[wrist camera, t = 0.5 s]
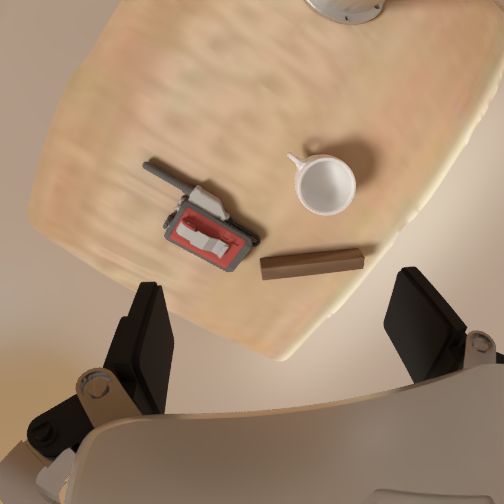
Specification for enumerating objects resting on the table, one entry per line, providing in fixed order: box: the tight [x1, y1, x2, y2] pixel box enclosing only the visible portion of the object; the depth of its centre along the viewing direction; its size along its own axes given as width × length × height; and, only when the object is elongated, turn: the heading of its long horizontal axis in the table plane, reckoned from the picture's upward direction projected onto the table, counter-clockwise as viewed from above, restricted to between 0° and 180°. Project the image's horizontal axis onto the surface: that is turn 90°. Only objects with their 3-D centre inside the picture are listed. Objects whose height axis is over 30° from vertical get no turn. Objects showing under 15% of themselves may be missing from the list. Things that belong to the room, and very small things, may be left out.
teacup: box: [287, 152, 356, 215], centre depth 38 cm, size 10×8×5 cm
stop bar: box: [260, 249, 365, 280], centre depth 46 cm, size 2×16×3 cm, turn 94°
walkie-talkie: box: [142, 162, 260, 272], centre depth 41 cm, size 9×4×20 cm
